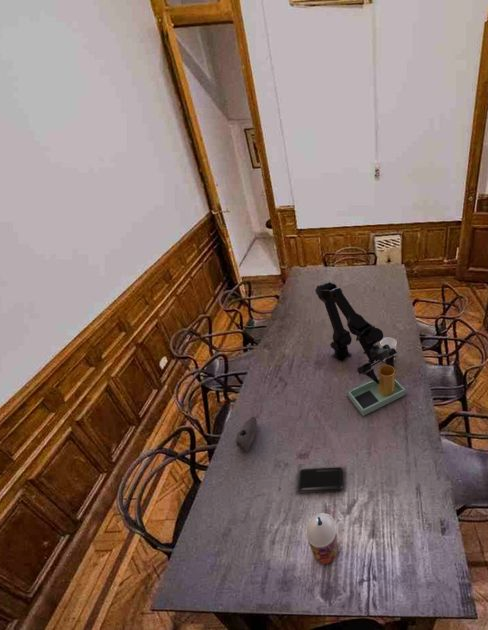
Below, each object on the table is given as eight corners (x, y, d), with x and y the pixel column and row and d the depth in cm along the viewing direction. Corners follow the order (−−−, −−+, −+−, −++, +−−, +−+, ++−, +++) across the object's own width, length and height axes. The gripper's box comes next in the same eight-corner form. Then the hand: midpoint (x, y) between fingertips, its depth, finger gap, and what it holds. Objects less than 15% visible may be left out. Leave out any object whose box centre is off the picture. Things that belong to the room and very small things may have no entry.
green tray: (363, 416, 139) (362, 410, 137) (348, 397, 148) (347, 391, 146) (405, 395, 148) (405, 389, 146) (388, 378, 157) (388, 372, 155)
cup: (375, 392, 149) (375, 371, 142) (384, 382, 153) (384, 362, 147) (388, 399, 146) (388, 378, 139) (397, 389, 150) (398, 369, 143)
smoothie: (323, 530, 104) (316, 495, 93) (345, 547, 100) (341, 513, 88) (305, 556, 98) (295, 522, 87) (328, 576, 94) (321, 543, 83)
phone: (342, 489, 113) (297, 490, 113) (342, 490, 114) (298, 492, 114) (342, 466, 120) (300, 468, 120) (343, 468, 120) (300, 470, 120)
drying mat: (363, 410, 141) (363, 410, 141) (354, 398, 147) (353, 397, 147) (379, 402, 144) (379, 402, 144) (369, 390, 150) (369, 390, 150)
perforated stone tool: (250, 422, 139) (247, 410, 135) (263, 423, 138) (259, 412, 134) (235, 455, 126) (230, 443, 123) (248, 456, 126) (244, 445, 122)
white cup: (395, 364, 164) (395, 348, 159) (378, 362, 166) (378, 346, 160) (396, 353, 170) (397, 338, 165) (381, 352, 172) (381, 336, 166)
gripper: (360, 351, 135) (379, 387, 134) (394, 332, 144) (412, 365, 143) (349, 357, 144) (367, 390, 143) (381, 339, 154) (398, 369, 153)
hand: (386, 378), depth 145 cm, fingers open, 9 cm apart
